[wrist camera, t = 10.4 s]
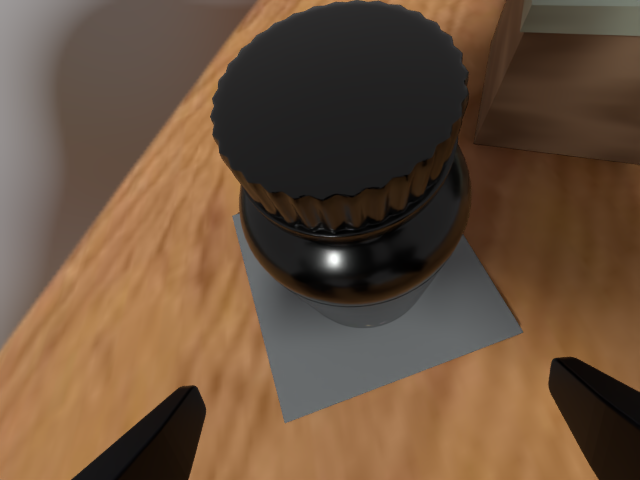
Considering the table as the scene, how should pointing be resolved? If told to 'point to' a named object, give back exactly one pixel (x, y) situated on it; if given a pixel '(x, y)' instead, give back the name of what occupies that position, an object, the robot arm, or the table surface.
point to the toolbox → (564, 79)
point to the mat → (373, 334)
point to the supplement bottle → (348, 155)
